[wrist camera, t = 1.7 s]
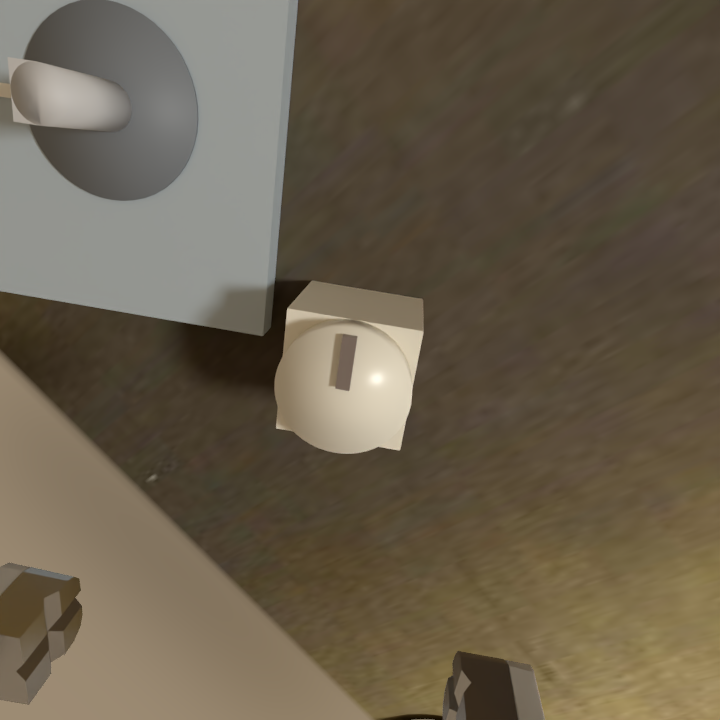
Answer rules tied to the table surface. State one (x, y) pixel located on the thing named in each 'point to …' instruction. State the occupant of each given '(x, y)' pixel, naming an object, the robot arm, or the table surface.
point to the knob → (348, 367)
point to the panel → (145, 154)
